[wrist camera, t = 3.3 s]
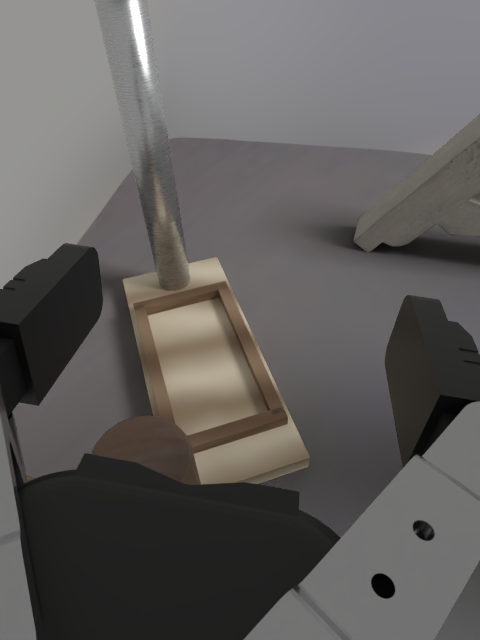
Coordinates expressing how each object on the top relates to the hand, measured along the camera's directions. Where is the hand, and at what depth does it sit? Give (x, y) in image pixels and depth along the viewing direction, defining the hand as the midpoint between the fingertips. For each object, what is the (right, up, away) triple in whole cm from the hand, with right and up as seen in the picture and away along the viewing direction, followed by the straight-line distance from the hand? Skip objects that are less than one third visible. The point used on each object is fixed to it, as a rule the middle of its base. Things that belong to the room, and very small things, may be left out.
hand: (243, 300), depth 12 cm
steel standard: (-7, +3, +35) cm, 36 cm away
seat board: (-3, -4, +28) cm, 29 cm away
